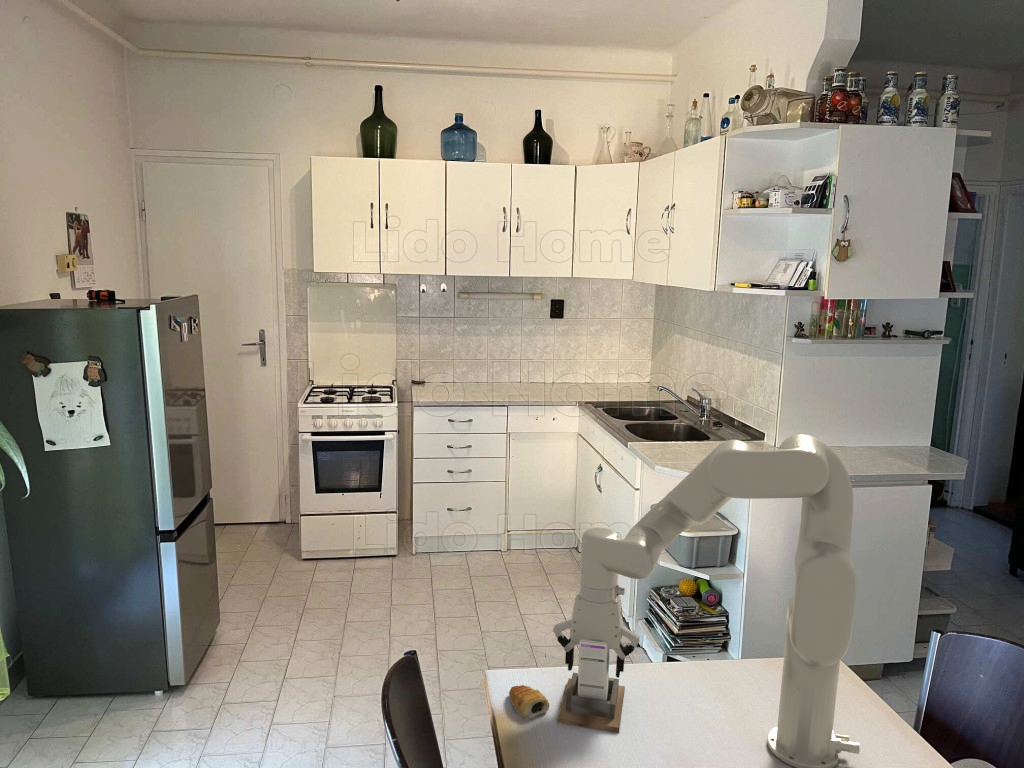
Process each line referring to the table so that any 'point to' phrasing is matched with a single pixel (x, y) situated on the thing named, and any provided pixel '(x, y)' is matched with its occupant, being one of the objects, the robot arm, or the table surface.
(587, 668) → the syrup box
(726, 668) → the table surface
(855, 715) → the table surface
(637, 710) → the table surface
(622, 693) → the socket stand
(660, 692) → the table surface
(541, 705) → the pastry
